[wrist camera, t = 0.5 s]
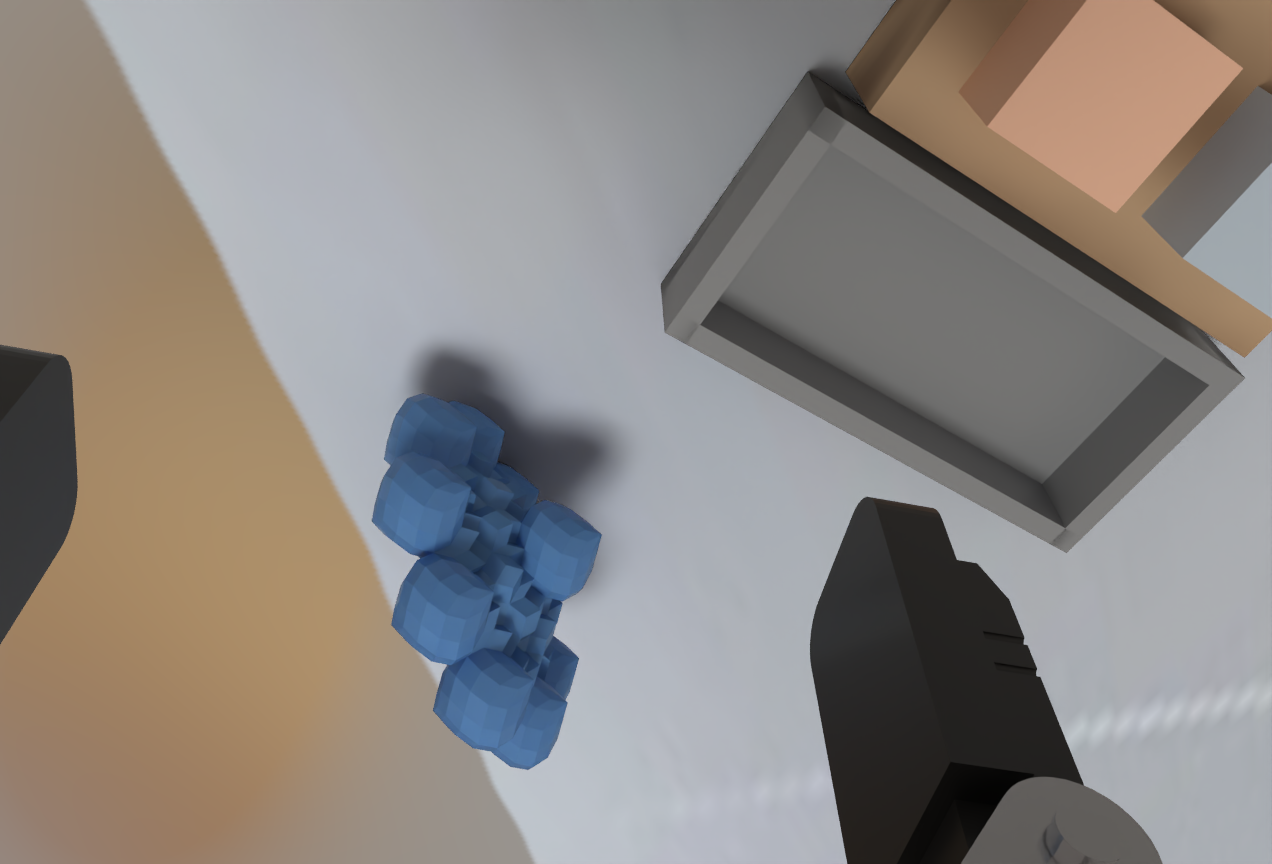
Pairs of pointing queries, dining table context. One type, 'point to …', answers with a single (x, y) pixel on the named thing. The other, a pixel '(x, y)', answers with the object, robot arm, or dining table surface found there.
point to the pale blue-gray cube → (1226, 205)
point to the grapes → (482, 577)
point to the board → (951, 130)
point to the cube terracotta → (1097, 89)
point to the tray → (938, 322)
